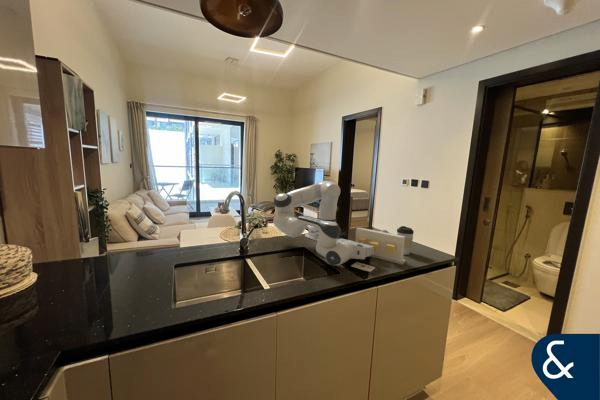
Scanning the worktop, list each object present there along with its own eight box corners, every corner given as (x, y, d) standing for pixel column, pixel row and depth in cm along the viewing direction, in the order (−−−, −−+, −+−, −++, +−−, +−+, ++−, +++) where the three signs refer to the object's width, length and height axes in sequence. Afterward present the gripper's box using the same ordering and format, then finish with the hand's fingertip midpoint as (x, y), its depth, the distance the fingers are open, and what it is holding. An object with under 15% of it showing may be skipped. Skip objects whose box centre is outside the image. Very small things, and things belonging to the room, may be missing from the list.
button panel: (352, 251, 144) (354, 228, 141) (356, 249, 147) (358, 226, 145) (402, 264, 126) (404, 238, 124) (405, 261, 130) (407, 236, 128)
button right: (385, 252, 128) (386, 245, 127) (390, 248, 133) (390, 241, 133) (393, 254, 125) (393, 246, 125) (397, 250, 131) (398, 243, 130)
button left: (357, 245, 138) (357, 238, 137) (362, 242, 143) (363, 235, 143) (363, 247, 135) (364, 240, 135) (369, 243, 141) (369, 237, 140)
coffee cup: (414, 255, 139) (417, 229, 137) (398, 255, 139) (400, 229, 137) (407, 250, 148) (410, 225, 146) (392, 249, 148) (394, 225, 146)
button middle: (368, 249, 131) (369, 242, 130) (374, 246, 136) (374, 239, 136) (376, 251, 128) (376, 244, 128) (381, 248, 134) (381, 241, 133)
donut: (386, 243, 160) (387, 228, 159) (390, 244, 157) (391, 229, 156) (375, 245, 155) (376, 230, 154) (379, 247, 152) (380, 231, 151)
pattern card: (351, 266, 123) (351, 265, 123) (356, 262, 128) (356, 261, 127) (370, 272, 117) (370, 271, 117) (375, 268, 121) (375, 267, 121)
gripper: (331, 250, 132) (343, 244, 143) (367, 260, 120) (377, 252, 130) (331, 239, 131) (344, 233, 142) (367, 248, 119) (378, 241, 129)
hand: (360, 242), depth 136 cm, fingers closed, pressing on button left
